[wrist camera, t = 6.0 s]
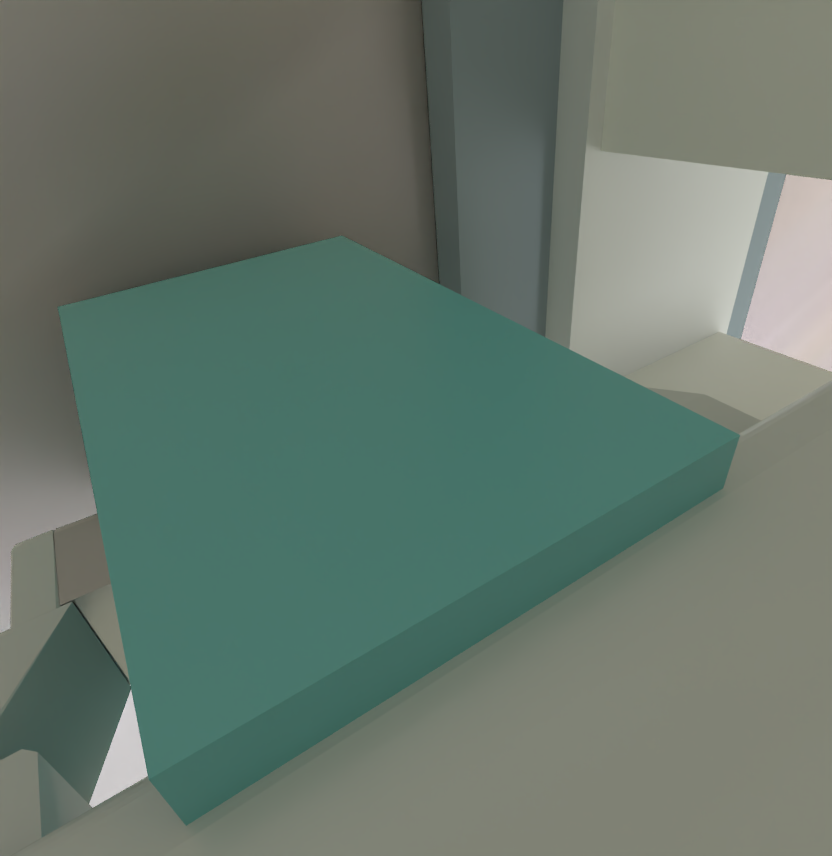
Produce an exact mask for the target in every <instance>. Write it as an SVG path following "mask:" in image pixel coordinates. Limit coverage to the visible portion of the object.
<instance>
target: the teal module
mask: <svg viewBox="0 0 832 856" xmlns="http://www.w3.org/2000/svg"><path fill="white" fill-rule="evenodd" d="M58 311H59V316H60V322H61V327H62V332H63V337H64V342H65V348H66V353H67V358H68V363H69V368H70V374H71V379H72V384H73V389H74V394H75V400H76V405H77V410H78V415H79V420H80V425H81V431H82V436H83V441H84V446H85V451H86V457H87V462H88V467H89V472H90V477H91V483H92V488H93V493H94V498H95V503H96V508H97V514H98V519H99V524H100V529H101V534H102V540H103V545H104V550H105V555H106V560H107V566H108V571H109V576H110V581H111V586H112V592H113V597H114V602H115V607H116V612H117V617H118V623H119V628H120V633H121V638H122V643H123V649H124V654H125V659H126V664H127V669H128V675H129V680H130V685H131V690H132V695H133V701H134V706H135V711H136V716H137V721H138V726H139V732H140V737H141V742H142V747H143V752H144V758H145V763H146V768H147V773H148V778H149V780H150V782H151V783H152V784H153V785H154V787H155V788H156V789H157V790H158V792H159V793H160V794H161V795H162V797H163V798H164V799H165V800H166V802H167V803H168V804H169V805H170V807H171V808H172V809H173V810H174V812H175V813H176V814H177V815H178V817H179V818H180V819H181V820H182V821H183V823H184V824H185V825H186V826H187V825H188V824H190V823H192V822H193V821H195V820H196V819H198V818H199V817H201V816H203V815H204V814H206V813H207V812H209V811H211V810H212V809H214V808H215V807H217V806H219V805H220V804H222V803H223V802H225V801H227V800H228V799H230V798H231V797H233V796H234V795H236V794H238V793H239V792H241V791H242V790H244V789H246V788H247V787H249V786H250V785H252V784H254V783H255V782H257V781H258V780H260V779H262V778H263V777H265V776H266V775H268V774H269V773H271V772H273V771H274V770H276V769H277V768H279V767H281V766H282V765H284V764H285V763H287V762H289V761H290V760H292V759H293V758H295V757H297V756H298V755H300V754H301V753H303V752H304V751H306V750H308V749H309V748H311V747H312V746H314V745H316V744H317V743H319V742H320V741H322V740H324V739H325V738H327V737H328V736H330V735H332V734H333V733H335V732H336V731H338V730H339V729H341V728H343V727H344V726H346V725H347V724H349V723H351V722H352V721H354V720H355V719H357V718H359V717H360V716H362V715H363V714H365V713H367V712H368V711H370V710H371V709H373V708H374V707H376V706H378V705H379V704H381V703H382V702H384V701H386V700H387V699H389V698H390V697H392V696H394V695H395V694H397V693H398V692H400V691H402V690H403V689H405V688H406V687H408V686H409V685H411V684H413V683H414V682H416V681H417V680H419V679H421V678H422V677H424V676H425V675H427V674H429V673H430V672H432V671H433V670H435V669H437V668H438V667H440V666H441V665H443V664H444V663H446V662H448V661H449V660H451V659H452V658H454V657H456V656H457V655H459V654H460V653H462V652H464V651H465V650H467V649H468V648H470V647H472V646H473V645H475V644H476V643H478V642H479V641H481V640H483V639H484V638H486V637H487V636H489V635H491V634H492V633H494V632H495V631H497V630H499V629H500V628H502V627H503V626H505V625H507V624H508V623H510V622H511V621H513V620H514V619H516V618H518V617H519V616H521V615H522V614H524V613H526V612H527V611H529V610H530V609H532V608H534V607H535V606H537V605H538V604H540V603H542V602H543V601H545V600H546V599H548V598H549V597H551V596H553V595H554V594H556V593H557V592H559V591H561V590H562V589H564V588H565V587H567V586H569V585H570V584H572V583H573V582H575V581H577V580H578V579H580V578H581V577H583V576H584V575H586V574H588V573H589V572H591V571H592V570H594V569H596V568H597V567H599V566H600V565H602V564H604V563H605V562H607V561H608V560H610V559H612V558H613V557H615V556H616V555H618V554H619V553H621V552H623V551H624V550H626V549H627V548H629V547H631V546H632V545H634V544H635V543H637V542H639V541H640V540H642V539H643V538H645V537H647V536H648V535H650V534H651V533H653V532H654V531H656V530H658V529H659V528H661V527H662V526H664V525H666V524H667V523H669V522H670V521H672V520H674V519H675V518H677V517H678V516H680V515H682V514H683V513H685V512H686V511H688V510H689V509H691V508H693V507H694V506H696V505H697V504H699V503H701V502H702V501H704V500H705V499H707V498H709V497H710V496H712V495H713V494H715V493H717V492H718V491H720V490H721V489H723V487H724V484H725V481H726V478H727V475H728V472H729V469H730V466H731V462H732V459H733V456H734V453H735V450H736V447H737V444H738V441H739V437H740V435H739V434H737V433H735V432H733V431H731V430H729V429H727V428H725V427H723V426H721V425H719V424H717V423H715V422H713V421H711V420H709V419H707V418H705V417H703V416H701V415H699V414H697V413H695V412H693V411H691V410H689V409H687V408H685V407H683V406H681V405H679V404H677V403H675V402H673V401H671V400H669V399H667V398H665V397H663V396H661V395H660V394H658V393H656V392H654V391H652V390H650V389H648V388H646V387H644V386H642V385H640V384H638V383H636V382H634V381H632V380H630V379H628V378H626V377H624V376H622V375H620V374H618V373H616V372H614V371H612V370H610V369H608V368H606V367H604V366H602V365H600V364H598V363H596V362H594V361H592V360H590V359H588V358H586V357H584V356H582V355H580V354H578V353H576V352H574V351H572V350H570V349H568V348H566V347H564V346H562V345H560V344H558V343H556V342H554V341H552V340H550V339H548V338H546V337H544V336H542V335H540V334H538V333H536V332H534V331H532V330H530V329H528V328H526V327H524V326H522V325H520V324H518V323H516V322H514V321H512V320H510V319H508V318H506V317H504V316H502V315H500V314H498V313H496V312H494V311H492V310H490V309H488V308H486V307H484V306H482V305H480V304H478V303H476V302H474V301H472V300H470V299H468V298H466V297H464V296H462V295H460V294H458V293H456V292H454V291H452V290H450V289H448V288H446V287H444V286H442V285H440V284H438V283H436V282H434V281H432V280H430V279H428V278H426V277H424V276H422V275H420V274H418V273H416V272H414V271H412V270H410V269H408V268H406V267H404V266H402V265H400V264H398V263H396V262H394V261H392V260H390V259H388V258H386V257H384V256H382V255H380V254H378V253H376V252H374V251H372V250H370V249H368V248H366V247H364V246H362V245H360V244H358V243H356V242H354V241H352V240H350V239H348V238H346V237H344V236H338V237H334V238H330V239H326V240H322V241H318V242H314V243H310V244H306V245H302V246H298V247H294V248H290V249H286V250H282V251H278V252H274V253H270V254H266V255H262V256H258V257H254V258H250V259H246V260H242V261H239V262H235V263H231V264H227V265H223V266H219V267H215V268H211V269H207V270H203V271H199V272H195V273H191V274H187V275H183V276H179V277H175V278H171V279H167V280H163V281H159V282H155V283H151V284H147V285H143V286H139V287H135V288H131V289H127V290H123V291H119V292H115V293H111V294H107V295H103V296H99V297H95V298H91V299H87V300H83V301H79V302H75V303H71V304H67V305H63V306H59V307H58Z"/></svg>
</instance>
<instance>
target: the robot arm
mask: <svg viewBox="0 0 832 856" xmlns="http://www.w3.org/2000/svg"><path fill="white" fill-rule="evenodd" d="M646 388H648V387H646ZM648 389H650V390H652V391H654V392H656V393H658V394H660V395H661V396H663V397H665V398H667V399H669V400H671V401H673V402H675V403H677V404H679V405H681V406H683V407H685V408H687V409H689V410H691V411H693V412H695V413H697V414H699V415H701V416H703V417H705V418H707V419H709V420H711V421H713V422H715V423H717V424H719V425H721V426H723V427H725V428H727V429H729V430H731V431H733V432H735V433H737V434H739V435H740V437H739V441H738V444H737V447H736V450H735V453H734V456H733V459H732V462H731V466H730V469H729V472H728V475H727V478H726V481H725V484H724V487H723V489H721V490H720V491H718V492H717V493H715V494H713V495H712V496H710V497H709V498H707V499H705V500H704V501H702V502H701V503H699V504H697V505H696V506H694V507H693V508H691V509H689V510H688V511H686V512H685V513H683V514H682V515H680V516H678V517H677V518H675V519H674V520H672V521H670V522H669V523H667V524H666V525H664V526H662V527H661V528H659V529H658V530H656V531H654V532H653V533H651V534H650V535H648V536H647V537H645V538H643V539H642V540H640V541H639V542H637V543H635V544H634V545H632V546H631V547H629V548H627V549H626V550H624V551H623V552H621V553H619V554H618V555H616V556H615V557H613V558H612V559H610V560H608V561H607V562H605V563H604V564H602V565H600V566H599V567H597V568H596V569H594V570H592V571H591V572H589V573H588V574H586V575H584V576H583V577H581V578H580V579H578V580H577V581H575V582H573V583H572V584H570V585H569V586H567V587H565V588H564V589H562V590H561V591H559V592H557V593H556V594H554V595H553V596H551V597H549V598H548V599H546V600H545V601H543V602H542V603H540V604H538V605H537V606H535V607H534V608H532V609H530V610H529V611H527V612H526V613H524V614H522V615H521V616H519V617H518V618H516V619H514V620H513V621H511V622H510V623H508V624H507V625H505V626H503V627H502V628H500V629H499V630H497V631H495V632H494V633H492V634H491V635H489V636H487V637H486V638H484V639H483V640H481V641H479V642H478V643H476V644H475V645H473V646H472V647H470V648H468V649H467V650H465V651H464V652H462V653H460V654H459V655H457V656H456V657H454V658H452V659H451V660H449V661H448V662H446V663H444V664H443V665H441V666H440V667H438V668H437V669H435V670H433V671H432V672H430V673H429V674H427V675H425V676H424V677H422V678H421V679H419V680H417V681H416V682H414V683H413V684H411V685H409V686H408V687H406V688H405V689H403V690H402V691H400V692H398V693H397V694H395V695H394V696H392V697H390V698H389V699H387V700H386V701H384V702H382V703H381V704H379V705H378V706H376V707H374V708H373V709H371V710H370V711H368V712H367V713H365V714H363V715H362V716H360V717H359V718H357V719H355V720H354V721H352V722H351V723H349V724H347V725H346V726H344V727H343V728H341V729H339V730H338V731H336V732H335V733H333V734H332V735H330V736H328V737H327V738H325V739H324V740H322V741H320V742H319V743H317V744H316V745H314V746H312V747H311V748H309V749H308V750H306V751H304V752H303V753H301V754H300V755H298V756H297V757H295V758H293V759H292V760H290V761H289V762H287V763H285V764H284V765H282V766H281V767H279V768H277V769H276V770H274V771H273V772H271V773H269V774H268V775H266V776H265V777H263V778H262V779H260V780H258V781H257V782H255V783H254V784H252V785H250V786H249V787H247V788H246V789H244V790H242V791H241V792H239V793H238V794H236V795H234V796H233V797H231V798H230V799H228V800H227V801H225V802H223V803H222V804H220V805H219V806H217V807H215V808H214V809H212V810H211V811H209V812H207V813H206V814H204V815H203V816H201V817H199V818H198V819H196V820H195V821H193V822H192V823H190V824H188V825H187V826H186V825H185V824H184V823H183V821H182V820H181V819H180V818H179V817H178V815H177V814H176V813H175V812H174V810H173V809H172V808H171V807H170V805H169V804H168V803H167V802H166V800H165V799H164V798H163V797H162V795H161V794H160V793H159V792H158V790H157V789H156V788H155V787H154V785H153V784H152V783H151V782H150V780H149V778H148V776H147V777H145V778H144V779H142V780H140V781H138V782H137V783H135V784H133V785H132V786H130V787H128V788H126V789H125V790H123V791H121V792H119V793H118V794H116V795H114V796H113V797H111V798H109V799H107V800H106V801H104V802H102V803H100V804H99V805H97V806H95V807H94V808H92V807H91V806H90V805H89V802H90V800H91V797H92V794H93V791H94V789H95V786H96V783H97V780H98V778H99V775H100V772H101V770H102V767H103V764H104V761H105V759H106V756H107V753H108V750H109V748H110V745H111V742H112V739H113V737H114V734H115V731H116V728H117V726H118V723H119V720H120V718H121V715H122V712H123V709H124V707H125V704H126V701H127V698H128V696H129V693H130V690H131V686H130V680H129V675H128V669H127V664H126V659H125V654H124V649H123V643H122V638H121V633H120V628H119V623H118V617H117V612H116V607H115V602H114V597H113V592H112V586H111V581H110V576H109V571H108V566H107V560H106V555H105V550H104V545H103V540H102V534H101V529H100V524H99V519H98V514H94V515H92V516H89V517H86V518H84V519H81V520H78V521H75V522H73V523H70V524H67V525H65V526H62V527H59V528H56V530H51V531H48V532H46V533H43V534H41V535H38V536H36V537H33V538H31V539H28V540H25V541H23V542H20V543H18V544H16V545H15V546H14V547H13V549H12V551H11V618H10V629H8V630H6V631H4V632H2V633H0V856H832V380H831V381H829V382H827V383H826V384H824V385H822V386H820V387H819V388H817V389H815V390H814V391H812V392H810V393H808V394H807V395H805V396H803V397H801V398H800V399H798V400H796V401H795V402H793V403H791V404H789V405H788V406H786V407H784V408H782V409H781V410H779V411H777V412H776V413H774V414H772V415H770V416H769V417H767V418H765V419H763V420H762V421H761V420H759V419H757V418H754V417H752V416H750V415H748V414H746V413H744V412H742V411H740V410H737V409H735V408H733V407H731V406H729V405H727V404H725V403H722V402H720V401H718V400H716V399H714V398H712V397H710V396H708V395H705V394H698V393H690V392H681V391H673V390H664V389H656V388H648Z"/></svg>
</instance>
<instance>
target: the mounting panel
mask: <svg viewBox="0 0 832 856" xmlns="http://www.w3.org/2000/svg"><path fill="white" fill-rule="evenodd" d="M422 13H423V29H424V45H425V61H426V77H427V93H428V109H429V124H430V140H431V156H432V172H433V188H434V204H435V220H436V236H437V251H438V267H439V283H440V285H442V286H444V287H446V288H448V289H450V290H452V291H454V292H456V293H458V294H460V295H462V296H464V297H466V298H468V299H470V300H472V301H474V302H476V303H478V304H480V305H482V306H484V307H486V308H488V309H490V310H492V311H494V312H496V313H498V314H500V315H502V316H504V317H506V318H508V319H510V320H512V321H514V322H516V323H518V324H520V325H522V326H524V327H526V328H528V329H530V330H532V331H534V332H536V333H538V334H540V335H542V336H544V337H546V338H548V339H550V340H552V341H554V342H556V343H558V344H560V345H562V346H564V347H566V348H568V349H570V350H572V351H574V352H576V353H578V354H580V355H582V356H584V357H586V358H588V359H590V360H592V361H594V362H596V363H598V364H600V365H602V366H604V367H606V368H608V369H610V370H612V371H614V372H616V373H618V374H620V375H622V376H624V377H626V378H628V379H630V380H632V381H634V382H636V383H638V384H640V385H642V386H644V387H648V388H656V389H664V390H673V391H681V392H690V393H698V394H705V395H708V396H710V397H712V398H714V399H716V400H718V401H720V402H722V403H725V404H727V405H729V406H731V407H733V408H735V409H737V410H740V411H742V412H744V413H746V414H748V415H750V416H752V417H754V418H757V419H759V420H761V421H762V420H763V419H765V418H767V417H769V416H770V415H772V414H774V413H776V412H777V411H779V410H781V409H782V408H784V407H786V406H788V405H789V404H791V403H793V402H795V401H796V400H798V399H800V398H801V397H803V396H805V395H807V394H808V393H810V392H812V391H814V390H815V389H817V388H819V387H820V386H822V385H824V384H826V383H827V382H829V381H831V380H832V372H830V371H827V370H825V369H822V368H819V367H816V366H813V365H811V364H808V363H805V362H802V361H800V360H797V359H794V358H791V357H788V356H786V355H783V354H780V353H777V352H774V351H772V350H769V349H766V348H763V347H761V346H758V345H755V344H752V343H749V342H747V341H744V340H741V336H742V332H743V328H744V325H745V321H746V318H747V314H748V310H749V307H750V303H751V299H752V296H753V292H754V289H755V285H756V281H757V278H758V274H759V271H760V267H761V263H762V260H763V256H764V252H765V249H766V245H767V242H768V238H769V234H770V231H771V227H772V224H773V220H774V216H775V213H776V209H777V205H778V202H779V198H780V195H781V191H782V187H783V184H784V180H785V177H786V174H788V175H796V176H804V177H812V178H820V179H828V180H832V0H422Z"/></svg>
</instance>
